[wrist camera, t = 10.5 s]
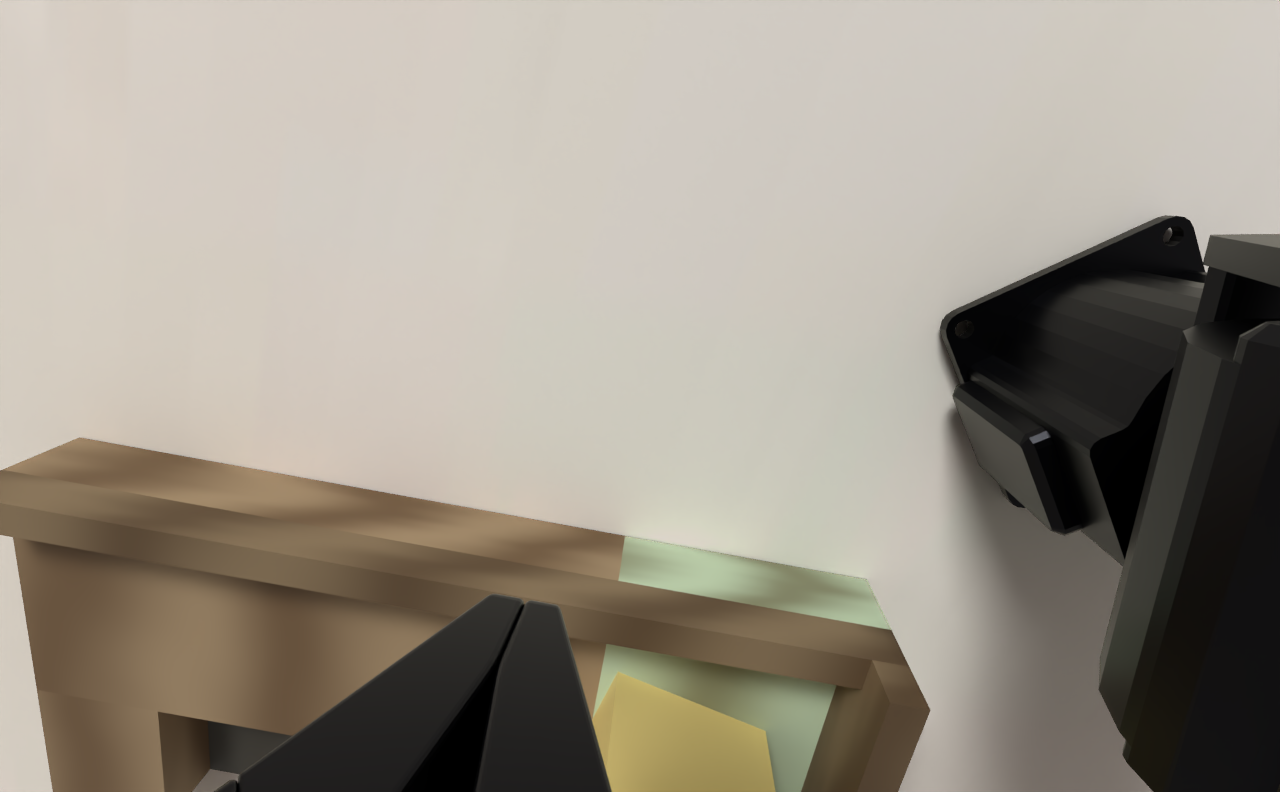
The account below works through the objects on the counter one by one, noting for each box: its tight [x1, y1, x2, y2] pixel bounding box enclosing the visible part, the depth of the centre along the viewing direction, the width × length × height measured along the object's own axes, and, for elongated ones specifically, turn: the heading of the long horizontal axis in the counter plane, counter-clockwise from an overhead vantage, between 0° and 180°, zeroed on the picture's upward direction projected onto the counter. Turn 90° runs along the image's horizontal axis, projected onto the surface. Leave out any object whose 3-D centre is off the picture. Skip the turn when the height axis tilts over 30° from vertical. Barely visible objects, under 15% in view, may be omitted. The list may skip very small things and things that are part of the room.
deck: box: [0, 438, 930, 792], centre depth 20 cm, size 26×13×6 cm, turn 80°
